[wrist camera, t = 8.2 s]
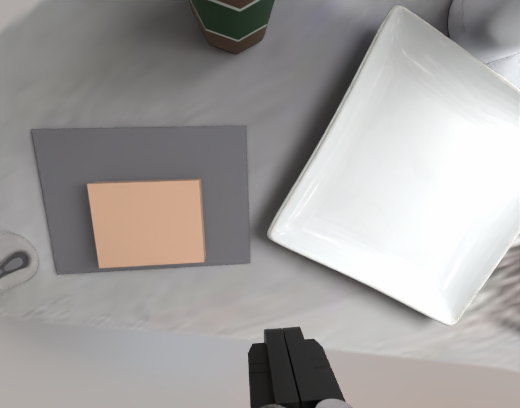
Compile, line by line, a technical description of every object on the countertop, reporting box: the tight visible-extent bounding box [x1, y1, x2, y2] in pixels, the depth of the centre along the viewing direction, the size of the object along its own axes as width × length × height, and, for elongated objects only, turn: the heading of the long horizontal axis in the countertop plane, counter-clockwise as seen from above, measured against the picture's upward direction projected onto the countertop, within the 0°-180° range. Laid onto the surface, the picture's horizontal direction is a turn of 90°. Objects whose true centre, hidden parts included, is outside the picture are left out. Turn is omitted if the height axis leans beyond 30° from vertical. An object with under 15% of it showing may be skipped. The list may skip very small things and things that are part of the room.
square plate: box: [267, 5, 520, 326], centre depth 34 cm, size 27×27×4 cm
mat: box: [31, 126, 250, 274], centre depth 33 cm, size 22×16×1 cm
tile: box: [87, 178, 206, 268], centre depth 32 cm, size 2×9×11 cm
